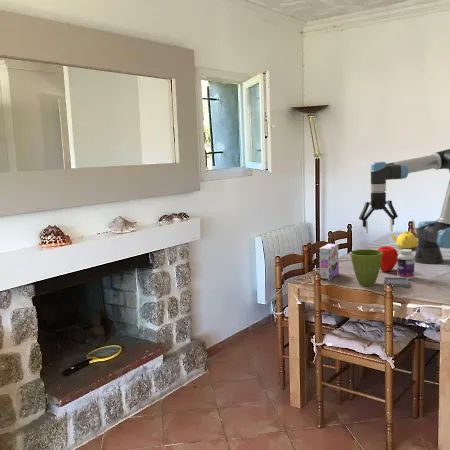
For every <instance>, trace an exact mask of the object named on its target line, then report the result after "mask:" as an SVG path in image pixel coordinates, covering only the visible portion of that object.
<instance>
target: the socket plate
mask: <svg viewBox="0 0 450 450" xmlns="http://www.w3.org/2000/svg"><path fill="white" fill-rule="evenodd" d="M387 283H389V284H392V285H393V287H392V288H395V287H406V288H405V289H409V287H410V286H409V284H410V283H409V279H408V278H398V277H392V276H391V277H390V276H389V277H386V276H384V277H383V284H384V285H385V284H387ZM384 285H383V286H384ZM407 287H408V288H407Z"/></svg>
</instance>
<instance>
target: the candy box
mask: <svg viewBox="0 0 450 450" xmlns="http://www.w3.org/2000/svg"><path fill="white" fill-rule="evenodd" d="M318 250H319V252H318V254H319V257H318V260H319V261H318V263H319V264H318V266H319V272H318V273H319V276H320V275H321V277H322V279H321V280H327V281H328V280H329V281H330V280H332V279H334V278H335V277H336V276H338V275H339V271H340V270H339V269H340V266H339V263H340V262H339V244H337V243H327V244H325V245H323V246H321V247H319V248H318Z"/></svg>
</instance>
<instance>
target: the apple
mask: <svg viewBox="0 0 450 450" xmlns="http://www.w3.org/2000/svg"><path fill="white" fill-rule="evenodd" d="M377 250H378V251H381V252H382V259H381V265H380V270H381V271H382V272H389V271H392V270H393V269H394V267H395V266H396V265H397V264H398V255H399V252H398V251H397V249H396V248H394V247H393V246H381V247H378V248H377Z"/></svg>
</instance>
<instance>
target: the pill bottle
mask: <svg viewBox="0 0 450 450" xmlns="http://www.w3.org/2000/svg"><path fill="white" fill-rule="evenodd" d="M412 250H413V249H412ZM412 250H409V249H408V248H403V249H399V253H398V261H397V268H396V269H397V271H396V273H397V274H396V275H397V278H408V280H412V279H414V278H415V261H414V257H415V255H414V254H413V251H412Z"/></svg>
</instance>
